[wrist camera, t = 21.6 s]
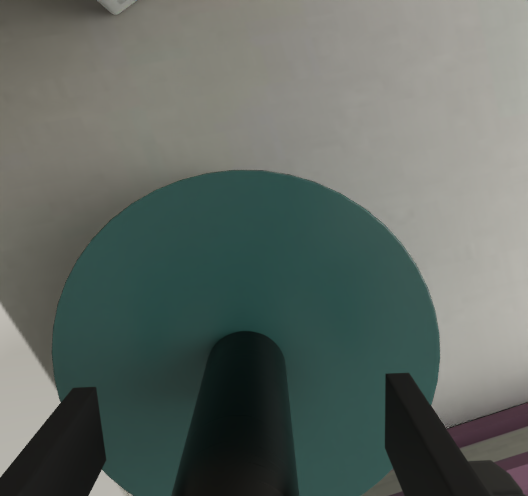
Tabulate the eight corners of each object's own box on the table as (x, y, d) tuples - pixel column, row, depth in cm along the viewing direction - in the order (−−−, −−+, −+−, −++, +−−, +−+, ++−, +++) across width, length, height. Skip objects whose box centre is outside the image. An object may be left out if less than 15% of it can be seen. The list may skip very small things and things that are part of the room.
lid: (37, 178, 18) (-257, 213, 8) (436, 159, 17) (666, 168, 8) (89, 516, 21) (-69, 847, 11) (424, 502, 21) (573, 823, 11)
